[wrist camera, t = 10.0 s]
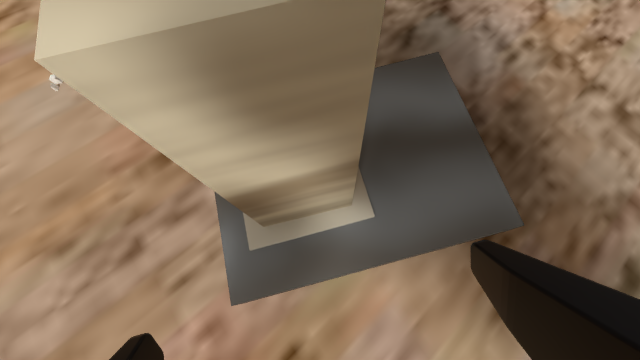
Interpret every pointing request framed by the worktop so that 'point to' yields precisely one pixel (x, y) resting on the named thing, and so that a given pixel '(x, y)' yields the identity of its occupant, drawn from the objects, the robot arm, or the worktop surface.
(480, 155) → the slate plinth
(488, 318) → the worktop surface
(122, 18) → the birch pillar
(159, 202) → the worktop surface
